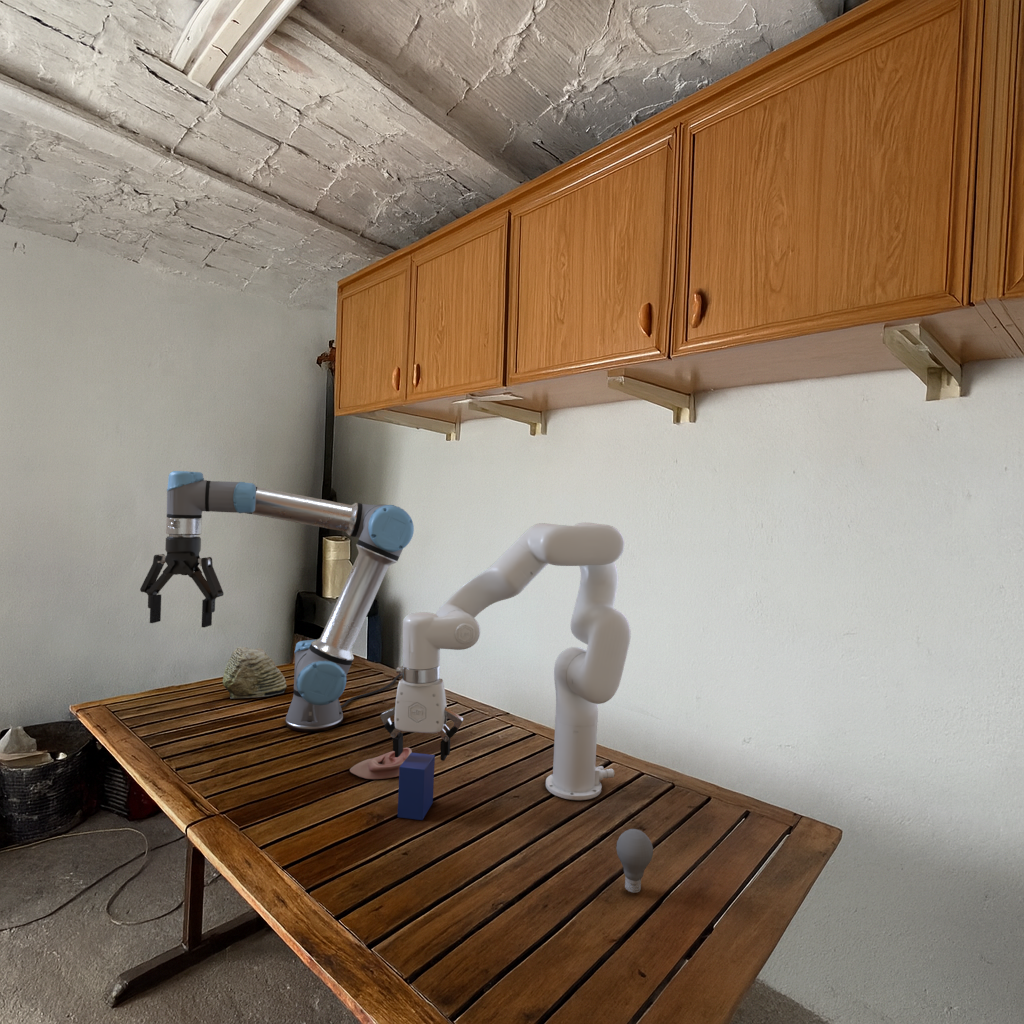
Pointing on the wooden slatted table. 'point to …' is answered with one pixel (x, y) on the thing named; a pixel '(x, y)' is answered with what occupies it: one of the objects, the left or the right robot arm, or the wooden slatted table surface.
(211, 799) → the wooden slatted table surface
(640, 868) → the light bulb
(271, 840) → the wooden slatted table surface
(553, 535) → the right robot arm
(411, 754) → the brick
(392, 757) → the anatomical model
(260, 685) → the fossil
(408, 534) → the left robot arm
